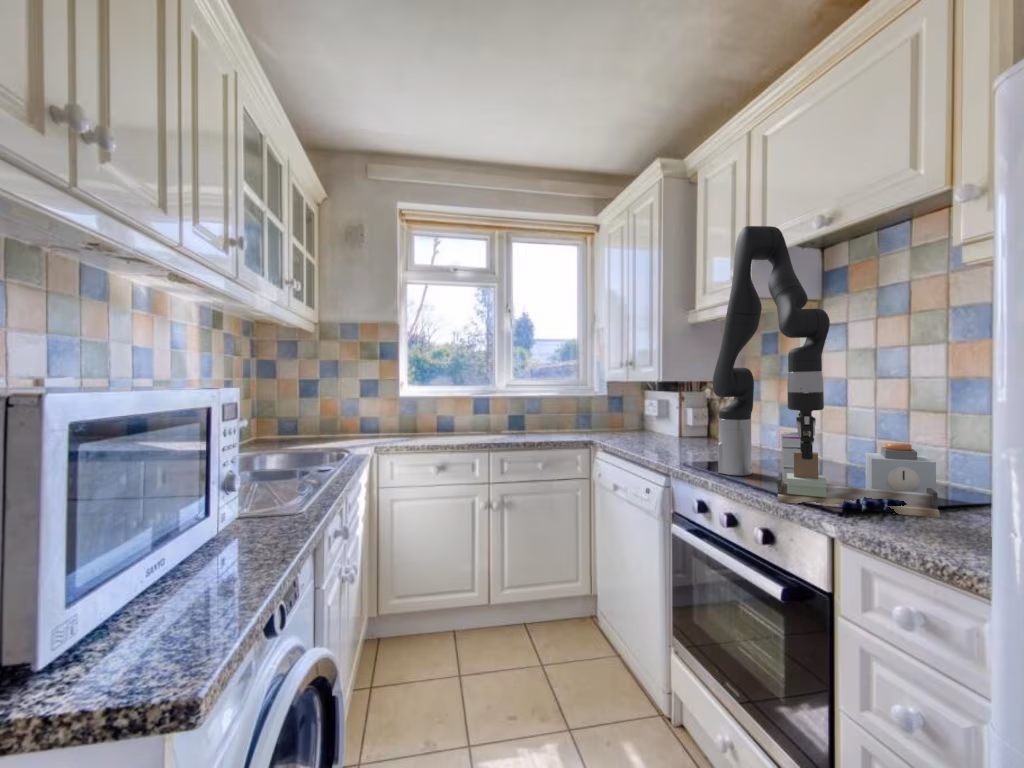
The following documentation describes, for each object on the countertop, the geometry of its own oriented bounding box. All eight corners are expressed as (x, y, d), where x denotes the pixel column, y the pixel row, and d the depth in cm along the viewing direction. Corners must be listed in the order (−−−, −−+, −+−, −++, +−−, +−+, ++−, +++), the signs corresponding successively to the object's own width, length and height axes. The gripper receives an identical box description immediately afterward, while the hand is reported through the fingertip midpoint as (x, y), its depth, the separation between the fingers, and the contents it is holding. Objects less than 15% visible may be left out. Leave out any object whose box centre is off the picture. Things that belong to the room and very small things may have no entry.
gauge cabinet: (872, 500, 115) (872, 451, 115) (865, 490, 125) (865, 445, 124) (937, 506, 109) (936, 454, 109) (924, 495, 119) (924, 447, 118)
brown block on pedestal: (787, 494, 115) (786, 453, 115) (787, 488, 121) (786, 449, 121) (826, 498, 111) (826, 455, 111) (824, 491, 117) (824, 451, 117)
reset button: (887, 456, 116) (887, 444, 116) (883, 453, 120) (883, 442, 120) (913, 458, 114) (913, 446, 114) (909, 454, 118) (909, 443, 118)
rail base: (777, 501, 115) (777, 481, 115) (778, 494, 122) (777, 475, 122) (939, 517, 100) (939, 494, 100) (929, 508, 107) (929, 486, 107)
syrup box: (806, 488, 128) (805, 434, 128) (781, 485, 132) (780, 433, 132) (808, 484, 133) (807, 432, 133) (784, 481, 137) (783, 431, 136)
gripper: (787, 390, 124) (788, 451, 124) (787, 391, 111) (788, 460, 111) (821, 389, 120) (822, 453, 120) (825, 391, 107) (827, 462, 107)
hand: (806, 456), depth 116 cm, fingers open, 8 cm apart
